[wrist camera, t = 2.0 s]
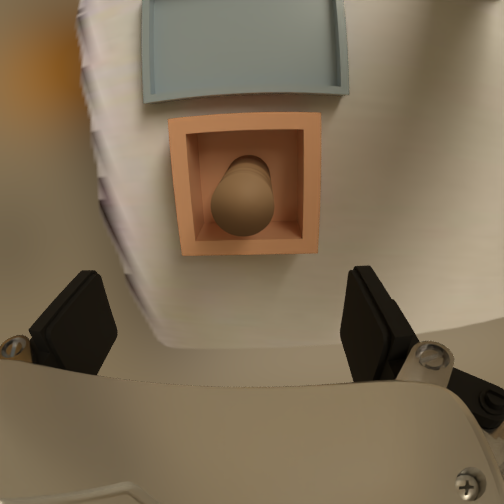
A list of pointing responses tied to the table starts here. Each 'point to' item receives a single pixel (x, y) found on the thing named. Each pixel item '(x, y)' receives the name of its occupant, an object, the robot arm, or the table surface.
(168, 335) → the table surface
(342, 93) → the tray
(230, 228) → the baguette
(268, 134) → the open box
